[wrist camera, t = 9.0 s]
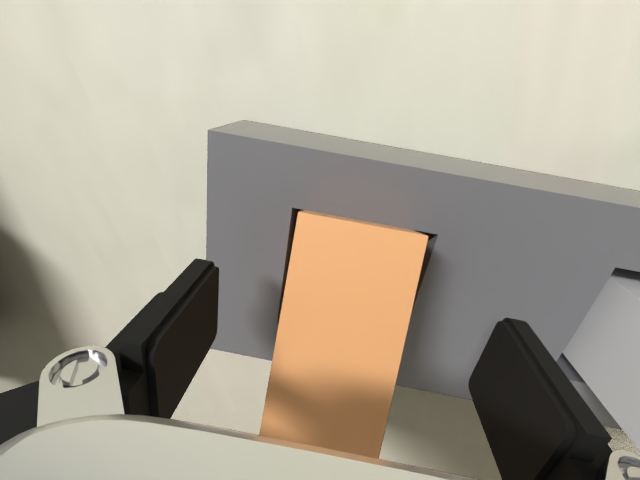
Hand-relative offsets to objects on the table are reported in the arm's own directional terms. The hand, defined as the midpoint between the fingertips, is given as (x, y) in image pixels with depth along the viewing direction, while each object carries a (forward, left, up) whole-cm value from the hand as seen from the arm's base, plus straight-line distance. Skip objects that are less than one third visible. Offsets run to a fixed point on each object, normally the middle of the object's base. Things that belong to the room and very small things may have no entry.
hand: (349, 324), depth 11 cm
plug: (0, -3, -2) cm, 4 cm away
